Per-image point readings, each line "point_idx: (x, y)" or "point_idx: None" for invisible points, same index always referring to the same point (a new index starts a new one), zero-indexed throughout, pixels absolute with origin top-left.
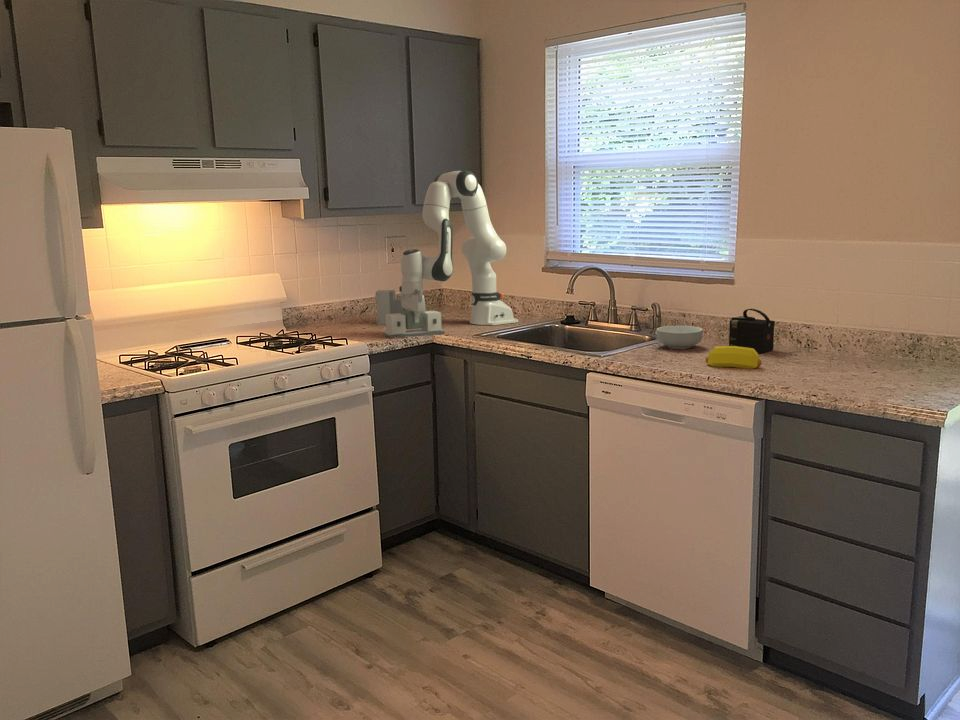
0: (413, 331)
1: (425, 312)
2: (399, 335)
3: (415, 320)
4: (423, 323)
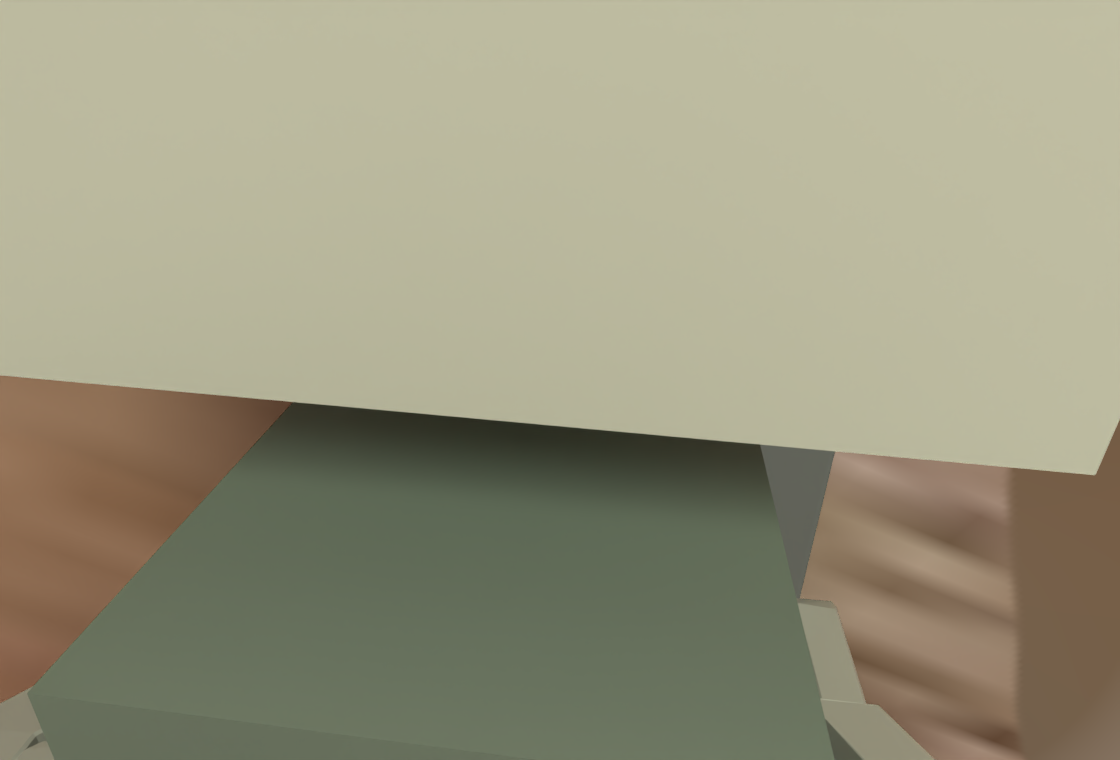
0: None
1: (426, 337)
2: None
3: None
4: None
